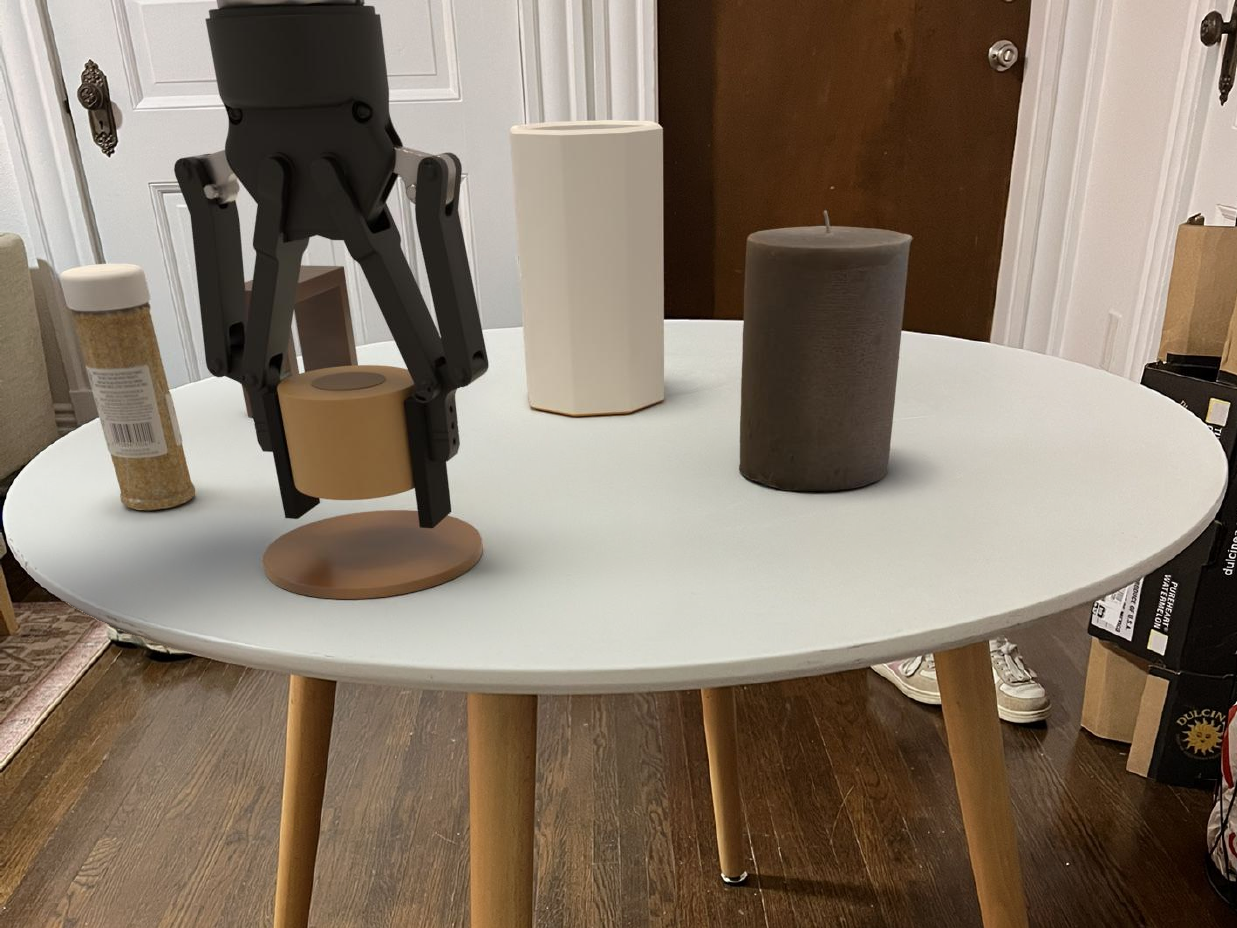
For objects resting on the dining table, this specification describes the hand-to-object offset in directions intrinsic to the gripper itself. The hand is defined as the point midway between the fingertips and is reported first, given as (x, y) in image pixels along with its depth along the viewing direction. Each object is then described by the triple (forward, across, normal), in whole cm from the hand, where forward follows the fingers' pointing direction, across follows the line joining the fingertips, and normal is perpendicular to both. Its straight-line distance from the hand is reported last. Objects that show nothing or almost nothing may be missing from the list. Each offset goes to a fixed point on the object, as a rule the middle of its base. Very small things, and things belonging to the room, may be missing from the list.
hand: (368, 514), depth 64 cm
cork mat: (+2, 0, 0) cm, 2 cm away
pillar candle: (+3, -22, -20) cm, 30 cm away
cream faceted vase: (+3, -3, -35) cm, 35 cm away
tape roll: (-2, 0, 0) cm, 2 cm away
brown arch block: (+2, +20, -31) cm, 37 cm away
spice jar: (+3, +18, -6) cm, 19 cm away
